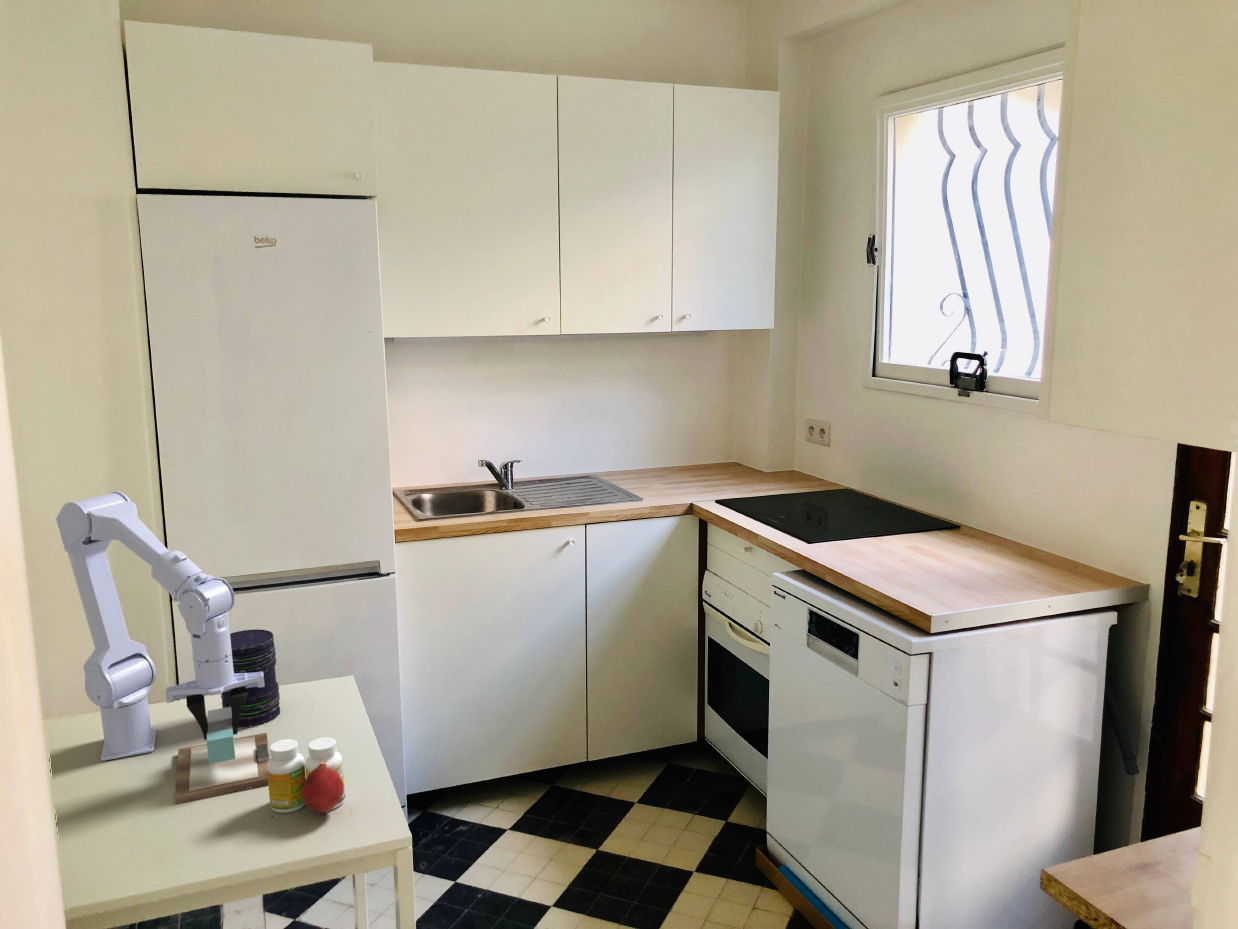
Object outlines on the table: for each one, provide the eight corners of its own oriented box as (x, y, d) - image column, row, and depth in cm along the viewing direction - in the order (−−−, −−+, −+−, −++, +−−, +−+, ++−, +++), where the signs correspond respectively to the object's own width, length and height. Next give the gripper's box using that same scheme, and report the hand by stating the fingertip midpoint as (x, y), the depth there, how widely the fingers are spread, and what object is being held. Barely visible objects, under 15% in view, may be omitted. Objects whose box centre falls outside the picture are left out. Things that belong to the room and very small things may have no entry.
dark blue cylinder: (286, 702, 180) (279, 627, 177) (274, 725, 170) (267, 647, 167) (231, 706, 178) (223, 631, 175) (216, 730, 169) (208, 651, 166)
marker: (209, 728, 160) (207, 707, 159) (233, 723, 161) (231, 702, 161) (209, 764, 148) (206, 741, 147) (235, 759, 149) (232, 736, 148)
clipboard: (179, 754, 160) (178, 744, 160) (267, 738, 165) (266, 728, 165) (175, 803, 145) (174, 792, 144) (272, 783, 150) (271, 773, 150)
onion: (309, 827, 137) (305, 776, 136) (300, 809, 142) (296, 760, 141) (349, 815, 140) (346, 765, 139) (339, 798, 145) (335, 749, 143)
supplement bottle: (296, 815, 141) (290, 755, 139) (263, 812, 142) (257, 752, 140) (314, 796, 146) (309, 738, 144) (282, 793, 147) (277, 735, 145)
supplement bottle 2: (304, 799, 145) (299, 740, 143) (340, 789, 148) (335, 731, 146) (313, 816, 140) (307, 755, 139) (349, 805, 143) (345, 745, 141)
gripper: (161, 672, 145) (170, 754, 147) (261, 656, 150) (269, 736, 153) (163, 656, 151) (172, 735, 154) (260, 641, 157) (267, 718, 159)
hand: (220, 734), depth 154 cm, fingers closed on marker, 4 cm apart
